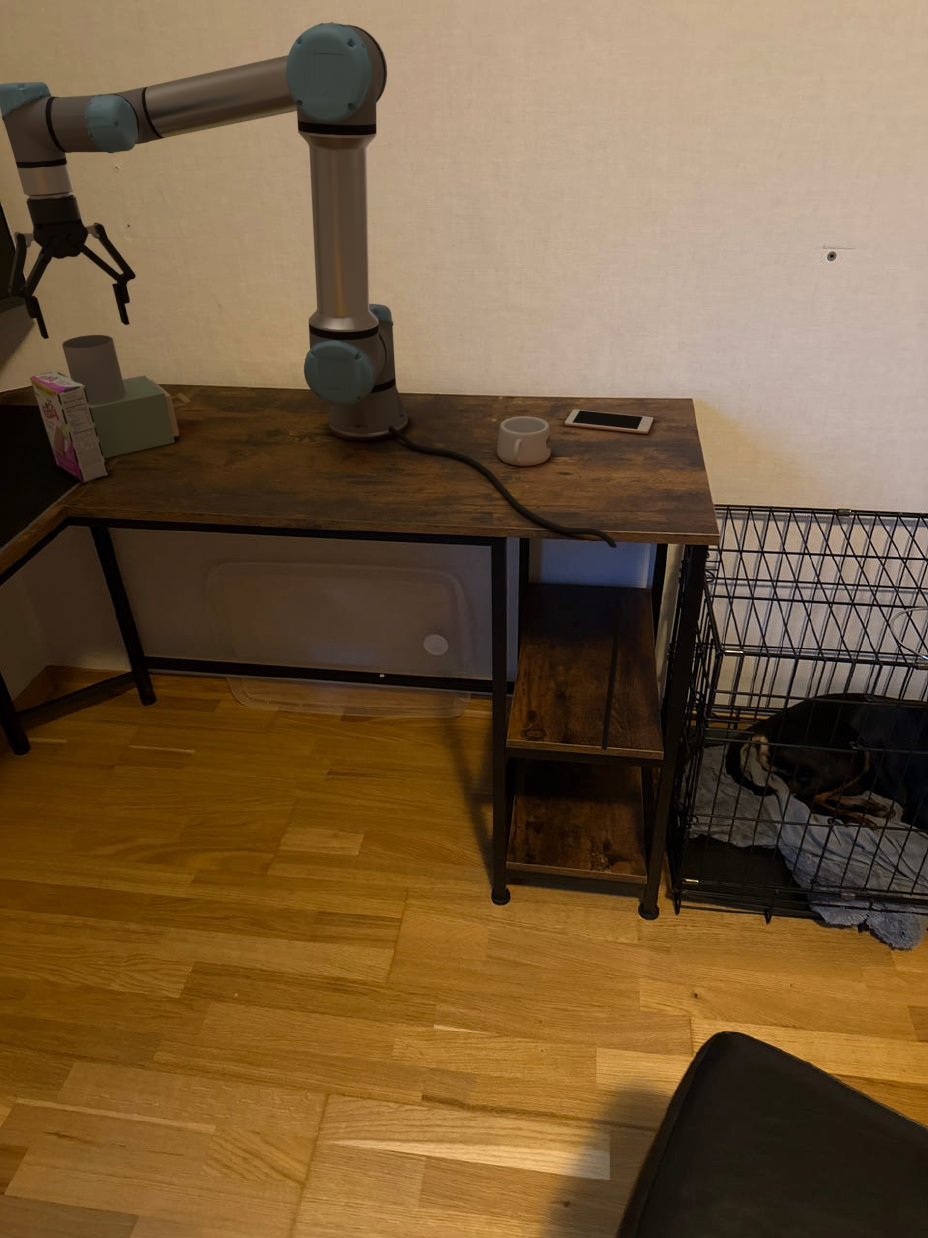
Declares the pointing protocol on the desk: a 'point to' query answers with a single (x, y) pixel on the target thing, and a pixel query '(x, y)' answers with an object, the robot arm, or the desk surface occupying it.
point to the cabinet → (133, 419)
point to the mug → (524, 441)
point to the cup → (95, 367)
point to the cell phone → (609, 421)
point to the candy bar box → (69, 425)
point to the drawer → (169, 399)
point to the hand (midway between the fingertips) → (86, 330)
